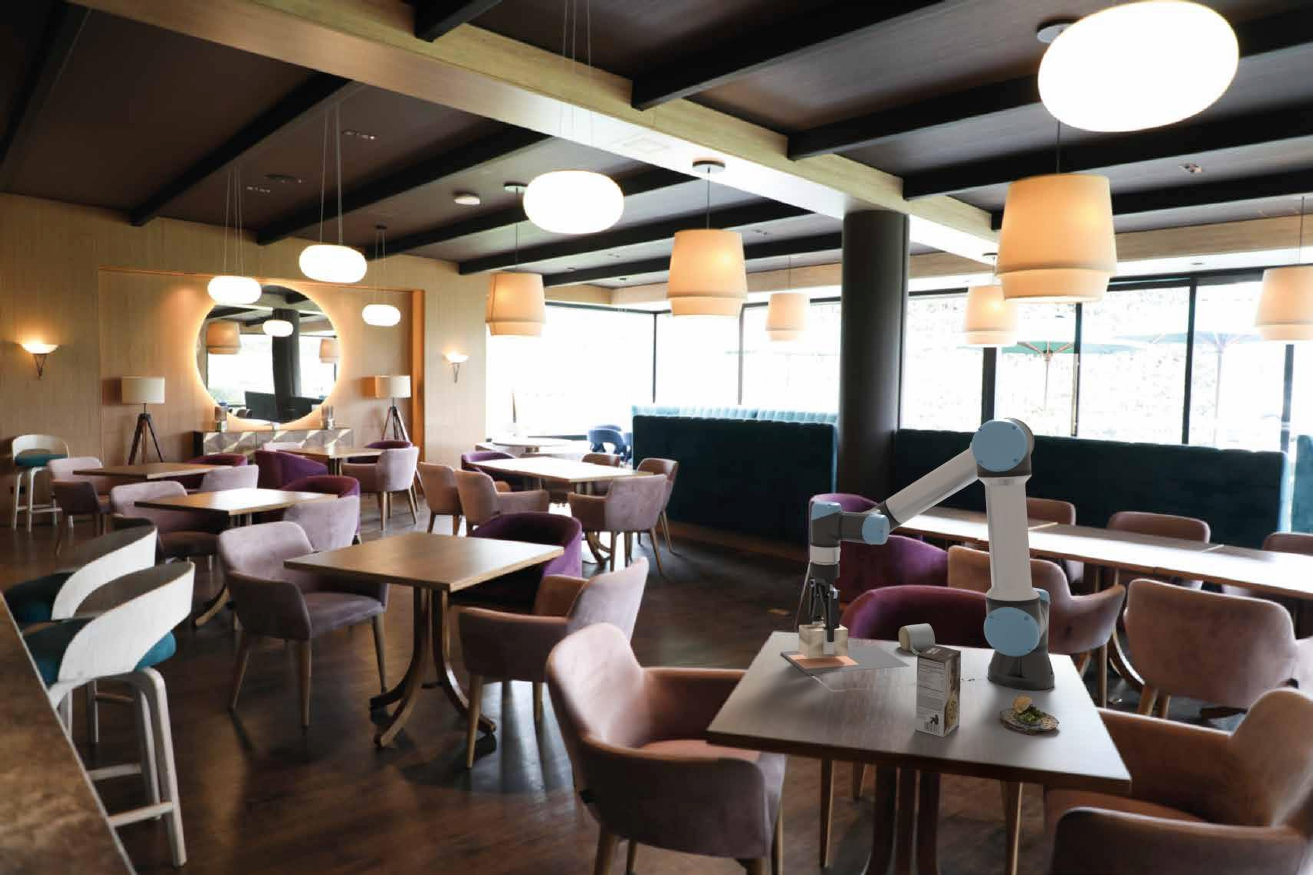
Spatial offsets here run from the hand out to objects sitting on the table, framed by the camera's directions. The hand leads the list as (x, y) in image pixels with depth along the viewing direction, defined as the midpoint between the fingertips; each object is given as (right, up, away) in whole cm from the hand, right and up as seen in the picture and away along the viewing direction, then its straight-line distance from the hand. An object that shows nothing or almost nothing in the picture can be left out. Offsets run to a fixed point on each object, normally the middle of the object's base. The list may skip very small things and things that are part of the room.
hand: (822, 649), depth 221 cm
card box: (0, -1, 0) cm, 1 cm away
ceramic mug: (+28, -3, +10) cm, 30 cm away
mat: (+6, -3, +2) cm, 7 cm away
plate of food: (+36, -6, -40) cm, 54 cm away
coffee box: (+16, -6, -42) cm, 45 cm away
